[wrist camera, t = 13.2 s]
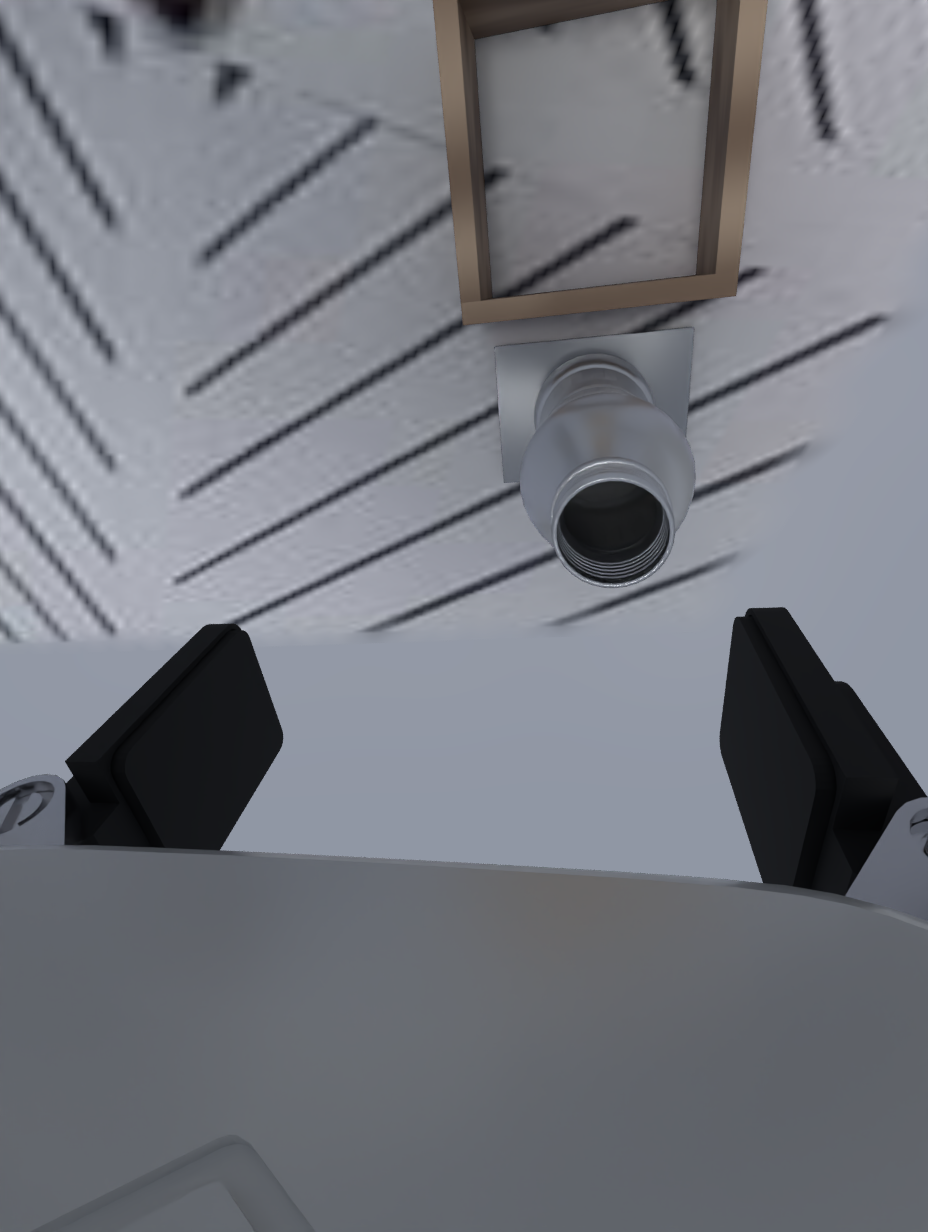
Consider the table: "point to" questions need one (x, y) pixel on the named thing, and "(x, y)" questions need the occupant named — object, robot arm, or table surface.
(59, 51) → the table surface
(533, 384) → the slate tile
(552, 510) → the plastic bottle
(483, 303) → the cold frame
